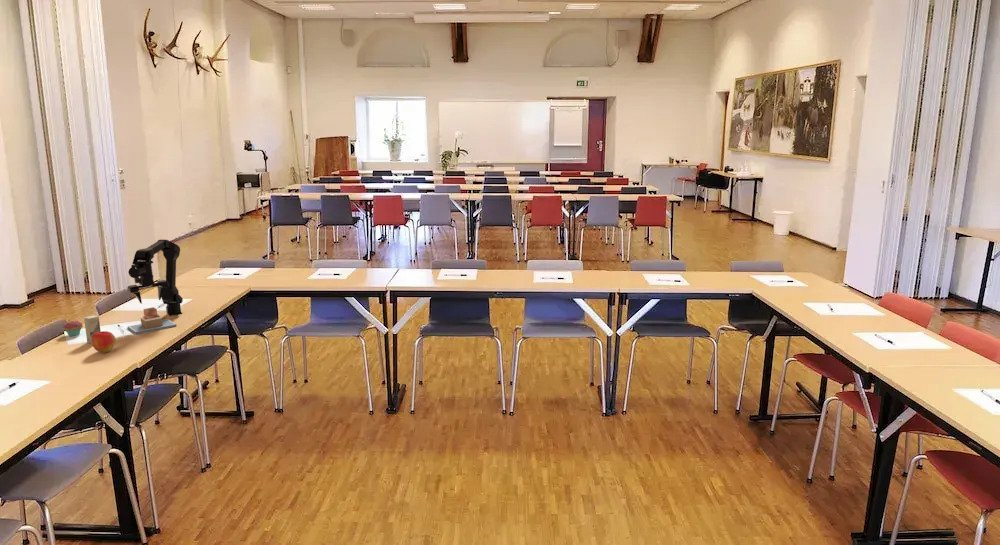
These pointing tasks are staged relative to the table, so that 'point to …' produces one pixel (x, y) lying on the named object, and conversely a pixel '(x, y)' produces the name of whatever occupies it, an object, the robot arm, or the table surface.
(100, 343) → the apple
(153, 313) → the terracotta block
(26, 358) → the table surface
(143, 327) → the blueprint board
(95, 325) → the box
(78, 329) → the cupcake
